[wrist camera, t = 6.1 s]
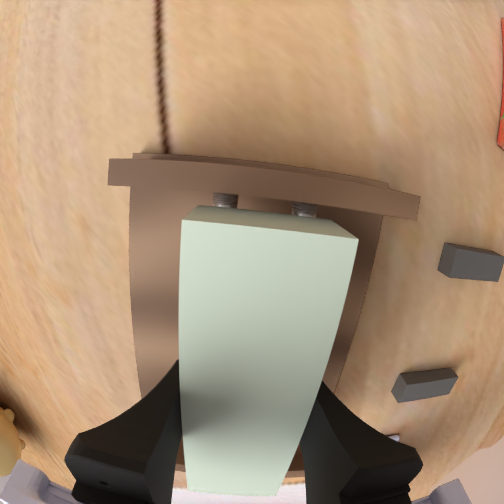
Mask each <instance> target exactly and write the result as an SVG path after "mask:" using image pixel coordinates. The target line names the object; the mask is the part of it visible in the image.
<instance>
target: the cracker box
mask: <svg viewBox="0 0 504 504" xmlns="http://www.w3.org/2000/svg"><path fill="white" fill-rule="evenodd" d="M501 24H502V36H503V91H502V106H501V115H500V124H499V132H498V138H497V144H498V145H499V146H500V147H501V148H502V149H503V150H504V18H502V19H501Z"/></svg>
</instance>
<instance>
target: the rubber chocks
mask: <svg viewBox="0 0 504 504" xmlns="http://www.w3.org/2000/svg"><path fill="white" fill-rule="evenodd" d="M503 263H504V256H502V255H500V254H498V253H495V252H493V251H488V250H483V249H478V248H472V247H467V246H461V245H456V244H450V243H444V247H443V251H442V255H441V259H440V263H439V267H438V271H440V272H441V273H443V274H445V275H446V276H448V277H449V278H459V279H471V280H483V281H494V282H498V281H499V277H500V274H501V271H502V267H503ZM457 379H458V376H457V375H456V374H455V372H454V371H453V370H452V369H451V368H445V369H437V370H430V371H421V372H412V373H402V374H400V375H399V377H398V379H397V381H396V383H395V385H394V387H393V389H392V391H391V392H392V393H393V395H394V397H395V399H396V400H397V402H398V403H401V402H408V401H414V400H420V399H426V398H431V397H437V396H442V395H446V394H449V393H450V391H451V389H452V388H453V386H454V384H455V382H456V380H457Z"/></svg>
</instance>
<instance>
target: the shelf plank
mask: <svg viewBox="0 0 504 504" xmlns="http://www.w3.org/2000/svg"><path fill="white" fill-rule="evenodd" d="M358 241H359V239H358V238H356V237H355V236H353V235H352V234H351V233H349V232H348V231H346V230H345V229H343V228H342V227H341V226H339V225H338V224H336V223H335V222H333V221H332V220H329V219H322V218H314V217H307V216H299V215H291V214H282V213H274V212H265V211H256V210H247V209H237V208H228V207H217V206H207V205H198V206H196V207H195V208H194V209H193V210H192V211H191V212H190V213H189V214H188V215H186V216H185V217H184V218H183V219H182V226H181V244H180V269H179V379H180V402H181V420H182V434H183V447H184V458H185V468H186V478H187V487H188V491H195V492H203V493H213V494H225V495H243V496H276V495H277V493H278V490H279V488H280V486H281V484H282V482H283V480H284V477H285V475H286V473H287V471H288V468H289V466H290V464H291V461H292V459H293V457H294V454H295V452H296V449H297V447H298V444H299V442H300V440H301V437H302V434H303V432H304V429H305V427H306V424H307V421H308V419H309V416H310V413H311V411H312V408H313V405H314V402H315V399H316V396H317V394H318V391H319V388H320V385H321V382H322V379H323V376H324V372H325V369H326V366H327V363H328V360H329V356H330V353H331V350H332V346H333V343H334V340H335V336H336V333H337V329H338V325H339V322H340V318H341V314H342V310H343V307H344V303H345V299H346V295H347V291H348V286H349V282H350V278H351V274H352V269H353V265H354V260H355V255H356V250H357V246H358Z"/></svg>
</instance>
